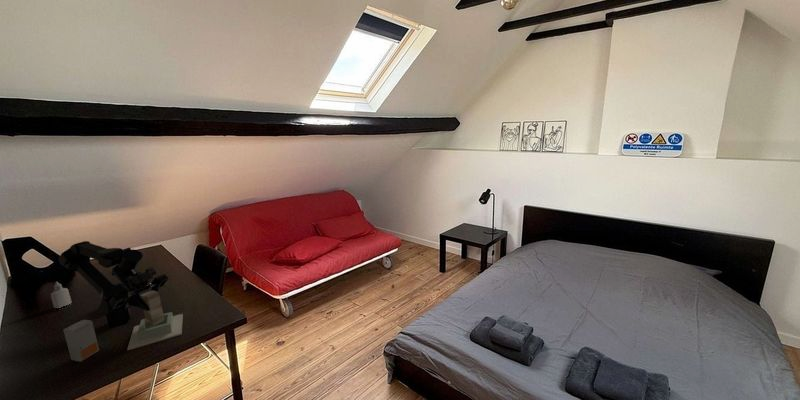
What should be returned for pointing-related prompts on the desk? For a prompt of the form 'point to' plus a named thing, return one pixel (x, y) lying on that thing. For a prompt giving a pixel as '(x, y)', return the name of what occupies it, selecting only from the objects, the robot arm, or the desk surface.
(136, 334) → the socket board
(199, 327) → the desk surface
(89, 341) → the skincare box
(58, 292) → the eye dropper bottle
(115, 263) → the robot arm
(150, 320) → the ash peg
